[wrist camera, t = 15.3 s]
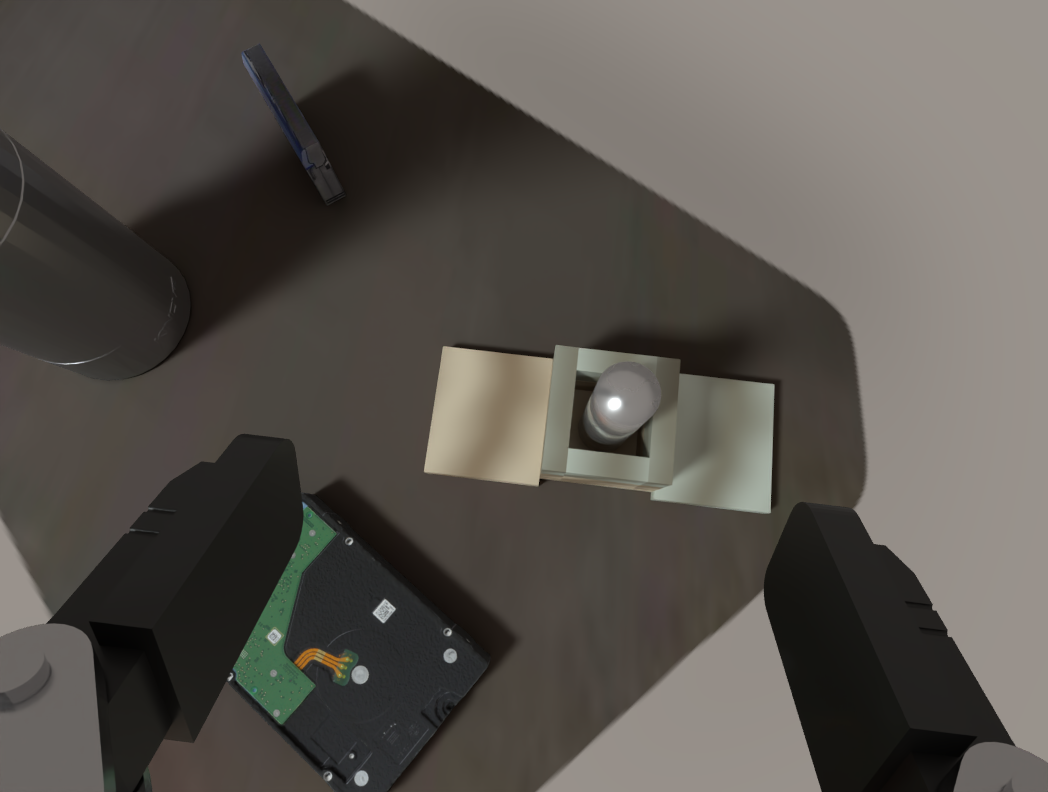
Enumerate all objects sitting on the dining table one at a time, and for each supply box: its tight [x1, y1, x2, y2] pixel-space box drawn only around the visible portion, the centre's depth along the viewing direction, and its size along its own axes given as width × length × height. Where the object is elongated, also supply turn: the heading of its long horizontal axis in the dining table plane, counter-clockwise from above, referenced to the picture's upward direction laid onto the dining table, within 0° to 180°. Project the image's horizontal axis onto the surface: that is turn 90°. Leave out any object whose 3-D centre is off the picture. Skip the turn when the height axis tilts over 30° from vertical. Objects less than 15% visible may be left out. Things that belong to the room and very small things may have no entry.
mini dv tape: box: [242, 44, 346, 206], centre depth 41 cm, size 8×2×6 cm, turn 31°
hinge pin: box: [578, 361, 661, 452], centre depth 33 cm, size 3×3×10 cm
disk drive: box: [226, 493, 490, 792], centre depth 36 cm, size 10×3×15 cm
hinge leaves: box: [424, 345, 774, 514], centre depth 37 cm, size 21×8×6 cm, turn 83°
